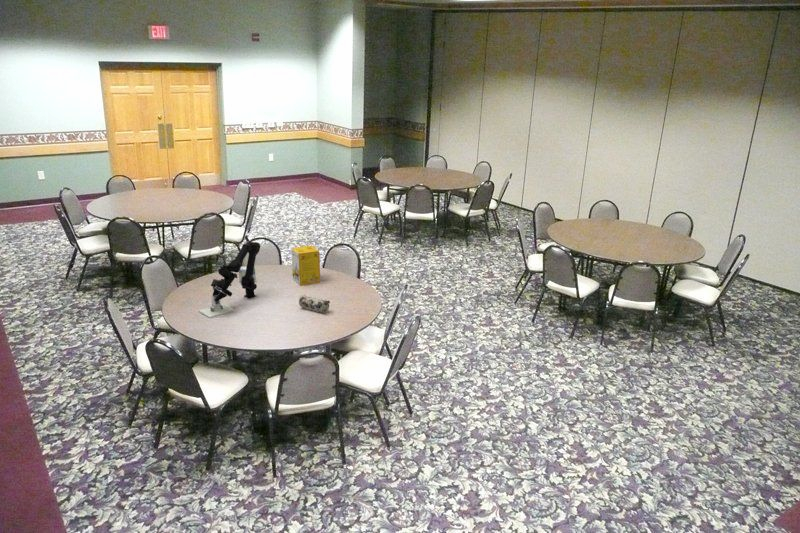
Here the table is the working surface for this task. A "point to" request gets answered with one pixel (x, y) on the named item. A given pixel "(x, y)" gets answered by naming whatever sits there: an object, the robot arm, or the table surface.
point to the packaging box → (305, 265)
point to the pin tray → (211, 313)
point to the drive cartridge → (215, 303)
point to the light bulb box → (243, 272)
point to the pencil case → (314, 304)
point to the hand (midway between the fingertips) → (213, 300)
